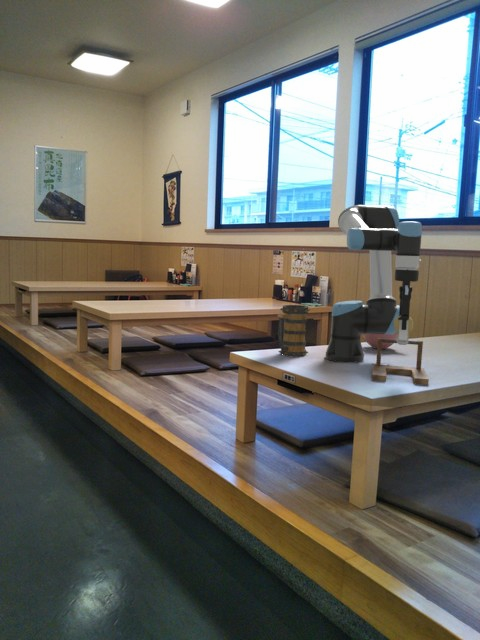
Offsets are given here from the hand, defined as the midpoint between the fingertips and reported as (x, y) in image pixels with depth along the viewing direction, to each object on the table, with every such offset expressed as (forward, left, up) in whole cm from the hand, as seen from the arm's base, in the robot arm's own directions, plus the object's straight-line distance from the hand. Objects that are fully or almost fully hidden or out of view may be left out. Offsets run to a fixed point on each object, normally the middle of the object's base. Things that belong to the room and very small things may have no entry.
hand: (402, 337), depth 182 cm
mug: (-42, +30, -15) cm, 54 cm away
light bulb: (0, +1, -2) cm, 3 cm away
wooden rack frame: (0, +5, -15) cm, 15 cm away
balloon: (-4, +60, -15) cm, 62 cm away
